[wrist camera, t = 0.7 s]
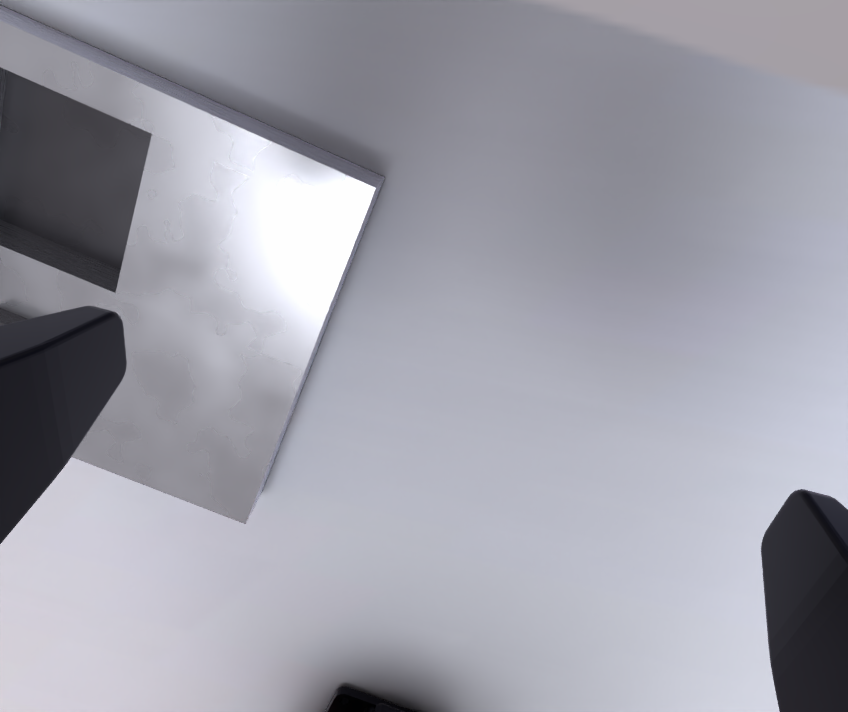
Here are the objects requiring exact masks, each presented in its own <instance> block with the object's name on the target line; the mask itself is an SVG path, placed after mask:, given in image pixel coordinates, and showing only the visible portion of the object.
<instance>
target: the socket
mask: <svg viewBox="0 0 848 712" xmlns="http://www.w3.org/2000/svg"><path fill="white" fill-rule="evenodd" d="M384 178H385V177H383V176H381V175H379V174H376V173H374V172H372V171H370V170H367V169H365V168H363V167H361V166H359V165H356V164H354V163H352V162H350V161H347V160H345V159H343V158H341V157H338V156H336V155H334V154H332V153H330V152H327V151H325V150H323V149H321V148H318V147H316V146H314V145H312V144H309V143H307V142H305V141H303V140H301V139H298V138H296V137H294V136H292V135H289V134H287V133H285V132H283V131H280V130H278V129H276V128H274V127H272V126H269V125H267V124H265V123H263V122H260V121H258V120H256V119H254V118H251V117H249V116H247V115H245V114H243V113H240V112H238V111H236V110H234V109H231V108H229V107H227V106H225V105H222V104H220V103H218V102H216V101H214V100H211V99H209V98H207V97H205V96H202V95H200V94H198V93H196V92H193V91H191V90H189V89H187V88H185V87H182V86H180V85H178V84H176V83H173V82H171V81H169V80H167V79H164V78H162V77H160V76H158V75H156V74H153V73H151V72H149V71H147V70H144V69H142V68H140V67H138V66H135V65H133V64H131V63H129V62H126V61H124V60H122V59H120V58H118V57H115V56H113V55H111V54H109V53H106V52H104V51H102V50H100V49H97V48H95V47H93V46H91V45H89V44H86V43H84V42H82V41H80V40H77V39H75V38H73V37H71V36H68V35H66V34H64V33H62V32H60V31H57V30H55V29H53V28H51V27H48V26H46V25H44V24H42V23H39V22H37V21H35V20H33V19H31V18H28V17H26V16H24V15H22V14H19V13H17V12H15V11H13V10H10V9H8V8H6V7H4V6H2V5H0V325H4V324H9V323H13V322H17V321H22V320H26V319H31V318H35V317H39V316H44V315H48V314H52V313H57V312H61V311H65V310H70V309H74V308H79V307H83V306H95V307H99V308H103V309H106V310H110V311H114V312H116V313H118V314H119V315H120V316H121V318H122V320H123V326H124V337H125V348H126V359H127V366H126V372H125V375H124V377H123V380H122V381H121V383H120V385H119V386H118V388H117V389H116V391H115V392H114V394H113V395H112V397H111V398H110V400H109V401H108V403H107V404H106V406H105V407H104V409H103V410H102V412H101V413H100V415H99V416H98V418H97V419H96V421H95V422H94V424H93V425H92V427H91V428H90V430H89V431H88V433H87V434H86V436H85V437H84V439H83V440H82V442H81V443H80V445H79V446H78V448H77V449H76V451H75V452H74V454H73V455H72V457H73V458H76V459H79V460H81V461H84V462H86V463H89V464H92V465H94V466H97V467H99V468H102V469H104V470H107V471H110V472H112V473H115V474H117V475H120V476H123V477H125V478H128V479H130V480H133V481H135V482H138V483H141V484H143V485H146V486H148V487H151V488H154V489H156V490H159V491H161V492H164V493H166V494H169V495H172V496H174V497H177V498H179V499H182V500H185V501H187V502H190V503H192V504H195V505H197V506H200V507H203V508H205V509H208V510H210V511H213V512H216V513H218V514H221V515H223V516H226V517H228V518H231V519H234V520H236V521H239V522H241V523H244V524H246V522H247V520H248V518H249V516H250V514H251V512H252V510H253V508H254V506H255V504H256V503H257V501H258V499H259V497H260V495H261V493H262V490H263V488H264V485H265V482H266V480H267V477H268V475H269V472H270V470H271V467H272V465H273V462H274V459H275V457H276V454H277V452H278V449H279V447H280V444H281V442H282V439H283V436H284V434H285V431H286V429H287V426H288V424H289V421H290V419H291V416H292V413H293V411H294V408H295V406H296V403H297V401H298V398H299V395H300V393H301V390H302V388H303V385H304V383H305V380H306V378H307V375H308V372H309V370H310V367H311V365H312V362H313V360H314V357H315V355H316V352H317V349H318V347H319V344H320V342H321V339H322V337H323V334H324V332H325V329H326V326H327V324H328V321H329V319H330V316H331V314H332V311H333V309H334V306H335V303H336V301H337V298H338V296H339V293H340V291H341V288H342V285H343V283H344V280H345V278H346V275H347V273H348V270H349V268H350V265H351V262H352V260H353V257H354V255H355V252H356V250H357V247H358V245H359V242H360V239H361V237H362V234H363V232H364V229H365V227H366V224H367V222H368V219H369V216H370V214H371V211H372V209H373V206H374V204H375V201H376V199H377V196H378V193H379V191H380V188H381V186H382V183H383V181H384Z"/></svg>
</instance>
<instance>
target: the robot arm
mask: <svg viewBox="0 0 848 712" xmlns="http://www.w3.org/2000/svg"><path fill="white" fill-rule="evenodd" d="M126 366H127V359H126V348H125V337H124V326H123V320H122V318H121V316H120V315H119V314H118V313H116V312H114V311H110V310H106V309H103V308H99V307H95V306H83V307H79V308H74V309H70V310H65V311H61V312H57V313H52V314H48V315H44V316H39V317H35V318H31V319H26V320H22V321H17V322H13V323H9V324H4V325H0V544H1V543H2V542H3V540H4V539H5V538H6V537H7V536H8V534H9V533H10V532H11V531H12V530H13V528H14V527H15V526H16V525H17V524H18V522H19V521H20V520H21V519H22V518H23V516H24V515H25V514H26V513H27V512H28V510H29V509H30V508H31V507H32V506H33V504H34V503H35V502H36V501H37V500H38V498H39V497H40V496H41V495H42V494H43V492H44V491H45V490H46V489H47V488H48V486H49V485H50V484H51V483H52V482H53V480H54V479H55V478H56V477H57V475H58V474H59V473H60V471H61V470H62V469H63V468H64V466H65V465H66V464H67V462H68V461H69V459H70V458H71V457H72V455H73V454H74V452H75V451H76V449H77V448H78V446H79V445H80V443H81V442H82V440H83V439H84V437H85V436H86V434H87V433H88V431H89V430H90V428H91V427H92V425H93V424H94V422H95V421H96V419H97V418H98V416H99V415H100V413H101V412H102V410H103V409H104V407H105V406H106V404H107V403H108V401H109V400H110V398H111V397H112V395H113V394H114V392H115V391H116V389H117V388H118V386H119V385H120V383H121V381H122V380H123V377H124V375H125V372H126ZM761 555H762V568H763V581H764V593H765V606H766V619H767V631H768V644H769V653H770V661H771V668H772V674H773V680H774V685H775V690H776V695H777V700H778V705H779V711H780V712H848V510H847V509H846V508H845V507H844V506H843V505H842V504H841V503H839V502H838V501H837V500H836V499H834V498H832V497H830V496H827V495H823V494H819V493H815V492H812V491H808V490H804V489H800V490H796V491H794V492H793V493H792V494H791V495H790V496H789V497H788V499H787V500H786V502H785V503H784V505H783V506H782V508H781V509H780V511H779V512H778V514H777V515H776V517H775V518H774V520H773V521H772V523H771V524H770V526H769V527H768V529H767V530H766V532H765V534H764V537H763V540H762V546H761ZM325 712H415V711H412V710H409V709H407V708H404V707H401V706H398V705H396V704H393V703H390V702H388V701H385V700H382V699H379V698H377V697H374V696H371V695H369V694H366V693H363V692H360V691H358V690H355V689H352V688H349V687H341V688H338V689H337V690H336V692H335V694H334V696H333V698H332V700H331V701H330V703H329V705H328V707H327V709H326V711H325Z"/></svg>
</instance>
